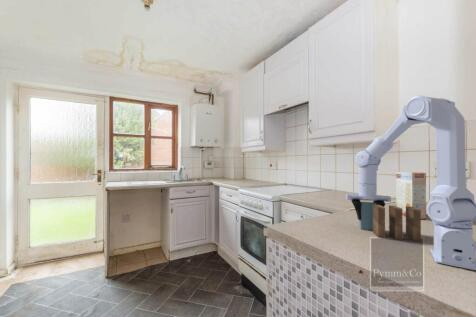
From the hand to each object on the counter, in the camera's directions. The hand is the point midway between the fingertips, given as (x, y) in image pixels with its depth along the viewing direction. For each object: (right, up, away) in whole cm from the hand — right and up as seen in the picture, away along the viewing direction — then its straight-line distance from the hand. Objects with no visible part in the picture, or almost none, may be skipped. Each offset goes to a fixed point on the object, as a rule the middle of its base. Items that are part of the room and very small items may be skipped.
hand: (367, 220), depth 81 cm
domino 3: (+5, -3, -8) cm, 10 cm away
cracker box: (+34, -5, +23) cm, 41 cm away
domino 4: (+9, -3, -9) cm, 14 cm away
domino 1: (0, -3, 0) cm, 3 cm away
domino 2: (0, -3, -7) cm, 8 cm away
